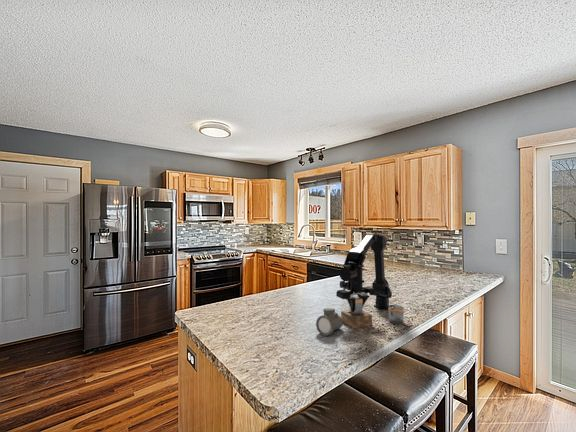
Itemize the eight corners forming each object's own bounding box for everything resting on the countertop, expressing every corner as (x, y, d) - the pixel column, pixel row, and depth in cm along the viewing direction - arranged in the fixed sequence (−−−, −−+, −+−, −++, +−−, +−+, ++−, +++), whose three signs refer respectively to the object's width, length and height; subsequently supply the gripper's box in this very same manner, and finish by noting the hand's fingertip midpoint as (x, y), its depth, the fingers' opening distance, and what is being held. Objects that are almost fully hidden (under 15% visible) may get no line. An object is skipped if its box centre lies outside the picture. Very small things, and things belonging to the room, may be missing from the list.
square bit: (357, 315, 132) (357, 296, 132) (362, 318, 129) (362, 298, 129) (350, 316, 131) (350, 297, 131) (355, 319, 127) (355, 299, 127)
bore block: (358, 317, 136) (358, 308, 136) (372, 324, 127) (372, 315, 127) (341, 320, 132) (341, 311, 132) (354, 328, 123) (354, 318, 123)
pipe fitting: (331, 337, 112) (331, 311, 114) (315, 334, 118) (315, 309, 119) (346, 332, 121) (346, 308, 123) (331, 329, 126) (330, 305, 128)
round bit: (396, 318, 135) (396, 304, 135) (407, 323, 129) (406, 308, 129) (385, 320, 132) (385, 305, 132) (396, 325, 126) (395, 310, 126)
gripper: (361, 272, 141) (361, 303, 141) (329, 276, 133) (330, 308, 133) (376, 277, 131) (376, 310, 130) (343, 280, 123) (343, 315, 123)
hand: (356, 310), depth 130 cm, fingers closed on square bit, 4 cm apart
